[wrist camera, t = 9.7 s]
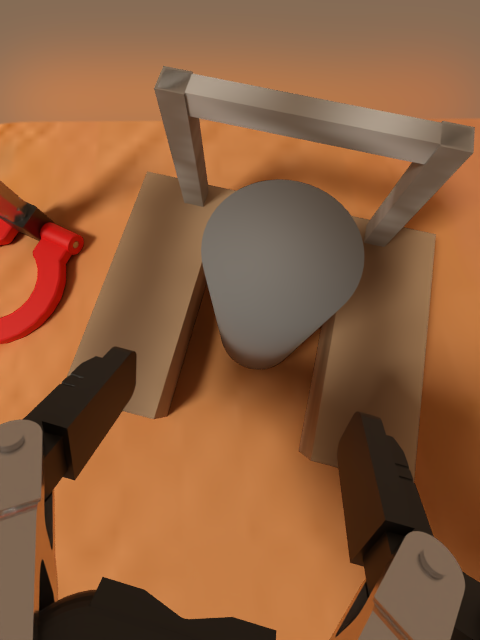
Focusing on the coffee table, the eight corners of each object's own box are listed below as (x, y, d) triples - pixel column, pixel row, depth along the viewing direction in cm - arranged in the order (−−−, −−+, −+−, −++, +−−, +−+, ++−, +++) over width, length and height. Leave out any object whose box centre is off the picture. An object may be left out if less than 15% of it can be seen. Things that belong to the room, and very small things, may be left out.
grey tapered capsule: (301, 305, 20) (374, 197, 9) (287, 377, 19) (351, 345, 8) (231, 289, 20) (224, 165, 10) (212, 358, 19) (180, 305, 8)
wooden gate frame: (408, 257, 21) (553, 134, 11) (384, 473, 17) (566, 561, 8) (159, 201, 22) (98, 45, 12) (88, 395, 18) (-77, 388, 9)
